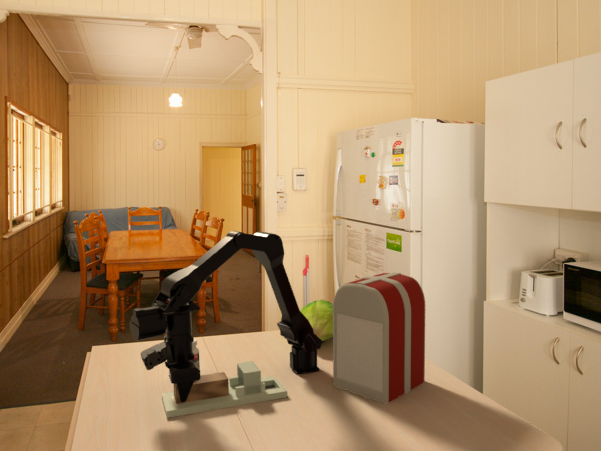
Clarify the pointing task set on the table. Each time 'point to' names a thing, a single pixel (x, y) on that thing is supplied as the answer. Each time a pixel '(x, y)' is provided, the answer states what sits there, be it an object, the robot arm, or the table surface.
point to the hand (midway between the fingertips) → (181, 397)
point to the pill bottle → (195, 353)
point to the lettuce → (320, 318)
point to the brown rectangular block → (206, 388)
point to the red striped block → (379, 336)
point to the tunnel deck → (231, 392)
